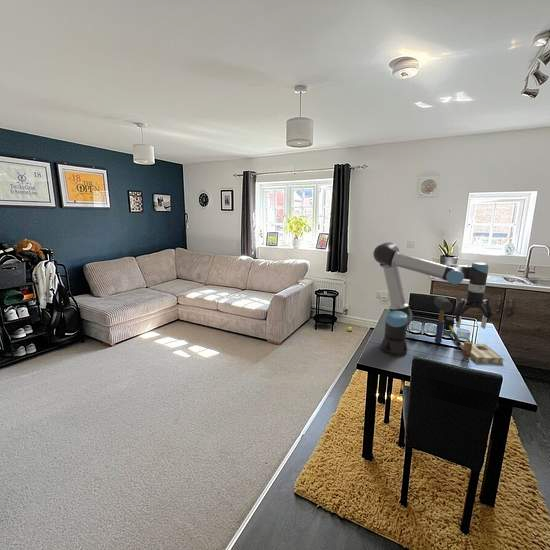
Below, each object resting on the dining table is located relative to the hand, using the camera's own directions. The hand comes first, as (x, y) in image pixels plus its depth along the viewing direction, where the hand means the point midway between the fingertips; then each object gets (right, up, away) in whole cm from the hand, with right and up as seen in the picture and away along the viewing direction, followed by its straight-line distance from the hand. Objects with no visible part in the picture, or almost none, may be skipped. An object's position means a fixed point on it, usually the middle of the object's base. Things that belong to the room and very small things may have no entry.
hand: (470, 327), depth 168 cm
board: (+11, -17, +8) cm, 22 cm away
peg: (-1, -19, +3) cm, 19 cm away
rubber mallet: (-5, -14, +23) cm, 28 cm away
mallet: (+9, -12, +33) cm, 36 cm away
